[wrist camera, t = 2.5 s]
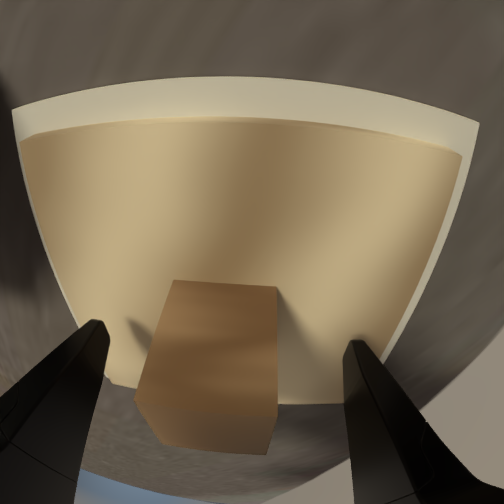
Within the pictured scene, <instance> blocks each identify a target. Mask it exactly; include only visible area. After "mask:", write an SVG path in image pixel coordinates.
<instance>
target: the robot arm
mask: <svg viewBox="0 0 504 504" xmlns="http://www.w3.org/2000/svg"><path fill="white" fill-rule="evenodd" d="M109 347H110V335H109V333H108V330H107V328H106V326H105V324H104V322H103V321H102V320H98V319H91V320H89V321H88V322H86V323H85V324H84V325H83V326H82V327H80V328H79V329H78V330H77V331H76V332H74V333H73V334H72V335H71V336H70V337H68V338H67V339H66V340H65V341H64V342H63V343H61V344H60V345H59V346H58V347H57V348H55V349H54V350H53V351H52V352H51V353H50V354H49V355H47V356H46V357H45V358H44V359H43V360H42V361H40V362H39V363H38V364H37V365H36V366H35V367H34V368H32V369H31V370H30V371H29V372H28V373H27V374H26V375H25V376H23V377H22V378H21V379H20V380H19V382H17V383H16V384H15V385H13V386H12V387H11V388H10V389H9V390H8V391H7V392H5V393H4V394H3V395H2V396H1V397H0V504H74V497H75V492H76V487H77V481H78V476H79V471H80V466H81V461H82V457H83V452H84V448H85V444H86V440H87V436H88V432H89V428H90V424H91V420H92V416H93V413H94V409H95V406H96V402H97V399H98V395H99V392H100V388H101V385H102V381H103V376H104V371H105V366H106V361H107V356H108V351H109ZM342 364H343V397H344V411H345V418H346V426H347V434H348V442H349V451H350V460H351V470H352V480H353V492H354V504H504V489H502V488H499V487H496V486H492V485H489V484H487V483H484V482H482V481H480V480H479V479H477V478H476V477H475V476H474V475H472V473H471V472H470V471H469V470H468V469H467V468H466V467H465V466H464V465H463V464H462V463H461V462H460V461H459V460H458V458H457V457H456V456H455V455H454V454H453V453H452V452H451V451H450V450H449V449H448V447H447V446H446V445H445V444H444V443H443V442H442V441H441V439H440V438H439V437H438V436H437V434H436V433H435V432H434V430H433V429H432V428H431V427H430V425H429V424H428V422H426V420H425V419H424V417H423V416H422V414H421V413H420V412H419V410H418V409H417V408H416V406H415V405H414V404H413V402H412V401H411V400H410V399H409V397H408V396H407V395H406V393H405V392H404V391H403V389H402V388H401V387H400V385H399V384H398V383H397V382H396V380H395V379H394V378H393V376H392V375H391V374H390V373H389V371H388V370H387V369H386V367H385V366H384V365H383V364H382V362H381V361H380V360H379V358H378V357H377V356H376V355H375V353H374V352H373V351H372V350H371V348H370V347H369V346H368V345H367V343H366V342H365V341H364V340H362V339H352V340H350V341H349V343H348V345H347V348H346V350H345V352H344V355H343V360H342Z"/></svg>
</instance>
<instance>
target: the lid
mask: <svg viewBox="0 0 504 504" xmlns="http://www.w3.org/2000/svg"><path fill="white" fill-rule="evenodd" d="M19 143H20V149H21V154H22V159H23V164H24V169H25V173H26V178H27V182H28V186H29V190H30V194H31V198H32V201H33V205H34V209H35V212H36V215H37V219H38V222H39V225H40V228H41V231H42V234H43V237H44V240H45V243H46V246H47V249H48V252H49V255H50V257H51V260H52V263H53V265H54V268H55V270H56V273H57V275H58V278H59V280H60V283H61V285H62V287H63V290H64V292H65V294H66V297H67V299H68V301H69V303H70V306H71V308H72V310H73V312H74V314H75V316H76V318H77V320H78V322H79V324H80V326H81V327H82V326H83V325H84V324H85V323H86V322H88V321H89V320H91V319H98V320H102V321H103V322H104V324H105V326H106V328H107V330H108V333H109V335H110V347H109V351H108V356H107V361H106V366H105V372H106V374H107V376H108V377H109V379H110V380H111V382H112V384H117V385H121V386H126V387H131V388H136V389H137V390H136V393H135V397H134V400H133V401H134V402H135V404H136V405H137V407H138V409H139V410H140V412H141V413H142V415H143V416H144V418H145V420H146V421H147V423H148V424H149V426H150V427H151V429H152V430H153V431H154V433H155V434H156V436H157V437H158V439H159V440H160V441H161V443H162V444H165V445H171V446H177V447H183V448H190V449H197V450H205V451H214V452H224V453H236V454H252V455H266V454H267V450H268V447H269V444H270V441H271V438H272V434H273V431H274V428H275V424H276V421H277V418H278V404H332V403H344V397H343V364H342V360H343V355H344V352H345V350H346V348H347V345H348V343H349V341H350V340H352V339H362V340H364V341H365V342H366V343H367V345H368V346H369V347H370V348H371V350H372V351H373V352H374V353H375V355H376V356H377V357H378V358H379V359H380V357H381V356H382V354H383V352H384V350H385V349H386V347H387V345H388V343H389V341H390V340H391V338H392V336H393V334H394V332H395V330H396V328H397V327H398V325H399V323H400V321H401V319H402V317H403V315H404V313H405V311H406V309H407V307H408V305H409V303H410V301H411V299H412V296H413V294H414V292H415V290H416V288H417V286H418V283H419V281H420V279H421V277H422V274H423V272H424V270H425V267H426V265H427V263H428V260H429V258H430V255H431V253H432V250H433V248H434V245H435V243H436V240H437V237H438V235H439V232H440V229H441V227H442V224H443V221H444V218H445V215H446V212H447V209H448V206H449V203H450V200H451V197H452V193H453V190H454V187H455V183H456V180H457V176H458V173H459V169H460V165H461V161H462V157H463V156H461V155H460V154H458V153H457V152H455V151H453V150H452V149H450V148H449V147H446V146H442V145H438V144H434V143H430V142H426V141H422V140H418V139H413V138H409V137H404V136H399V135H395V134H390V133H384V132H379V131H373V130H368V129H362V128H355V127H349V126H342V125H335V124H327V123H318V122H309V121H299V120H288V119H274V118H257V117H226V116H195V117H165V118H148V119H135V120H124V121H114V122H105V123H97V124H89V125H82V126H76V127H69V128H64V129H58V130H52V131H47V132H42V133H37V134H34V135H32V136H30V137H28V138H26V139H24V140H22V141H20V142H19Z"/></svg>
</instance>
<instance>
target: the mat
mask: <svg viewBox="0 0 504 504" xmlns="http://www.w3.org/2000/svg"><path fill="white" fill-rule="evenodd" d="M195 116H226V117H257V118H274V119H288V120H299V121H309V122H318V123H327V124H335V125H342V126H349V127H355V128H362V129H368V130H373V131H379V132H384V133H390V134H395V135H399V136H404V137H409V138H413V139H418V140H422V141H426V142H430V143H434V144H438V145H442V146H446V147H449V148H450V149H452V150H453V151H455V152H457V153H458V154H460V155H461V156H463V157H462V161H461V165H460V169H459V173H458V176H457V180H456V183H455V187H454V190H453V193H452V197H451V200H450V203H449V206H448V209H447V212H446V215H445V218H444V221H443V224H442V227H441V229H440V232H439V235H438V237H437V240H436V243H435V245H434V248H433V250H432V253H431V255H430V258H429V260H428V263H427V265H426V267H425V270H424V272H423V274H422V277H421V279H420V281H419V283H418V286H417V288H416V290H415V292H414V294H413V296H412V299H411V301H410V303H409V305H408V307H407V309H406V311H405V313H404V315H403V317H402V319H401V321H400V323H399V325H398V327H397V328H396V330H395V332H394V334H393V336H392V338H391V340H390V341H389V343H388V345H387V347H386V349H385V350H384V352H383V354H382V356H381V357H380V359H379V360H380V361H381V362H382V364H384V362H385V361H386V359H387V357H388V356H389V354H390V352H391V351H392V349H393V347H394V345H395V344H396V342H397V340H398V338H399V337H400V335H401V333H402V331H403V330H404V328H405V326H406V324H407V322H408V320H409V318H410V317H411V315H412V313H413V311H414V309H415V307H416V305H417V303H418V301H419V299H420V297H421V295H422V293H423V291H424V288H425V286H426V284H427V282H428V280H429V278H430V275H431V273H432V271H433V269H434V266H435V264H436V262H437V259H438V257H439V255H440V252H441V250H442V247H443V245H444V242H445V240H446V237H447V235H448V232H449V229H450V227H451V224H452V221H453V218H454V215H455V212H456V209H457V207H458V204H459V200H460V197H461V194H462V191H463V188H464V184H465V181H466V177H467V174H468V170H469V167H470V163H471V159H472V155H473V151H474V147H475V142H476V138H477V133H478V128H479V123H478V122H476V121H474V120H471V119H469V118H466V117H463V116H460V115H458V114H455V113H452V112H449V111H446V110H443V109H439V108H436V107H433V106H430V105H426V104H423V103H419V102H415V101H412V100H408V99H404V98H400V97H396V96H392V95H387V94H383V93H378V92H373V91H369V90H363V89H358V88H352V87H347V86H340V85H334V84H327V83H319V82H311V81H302V80H292V79H280V78H264V77H233V76H216V77H185V78H169V79H157V80H147V81H138V82H130V83H123V84H116V85H110V86H104V87H98V88H93V89H88V90H83V91H78V92H73V93H69V94H64V95H60V96H56V97H52V98H48V99H45V100H41V101H37V102H34V103H30V104H27V105H24V106H21V107H18V108H15V109H12V117H13V124H14V131H15V137H16V143H17V149H18V154H19V159H20V164H21V169H22V173H23V178H24V182H25V186H26V190H27V194H28V197H29V201H30V205H31V208H32V212H33V215H34V218H35V221H36V225H37V228H38V231H39V234H40V237H41V240H42V243H43V246H44V248H45V251H46V254H47V257H48V259H49V262H50V264H51V267H52V270H53V272H54V274H55V277H56V279H57V282H58V284H59V286H60V289H61V291H62V293H63V296H64V298H65V300H66V302H67V304H68V307H69V309H70V311H71V313H72V315H73V317H74V319H75V321H76V323H77V325H78V327H79V328H80V327H81V326H80V324H79V322H78V320H77V318H76V316H75V314H74V312H73V310H72V308H71V306H70V303H69V301H68V299H67V297H66V294H65V292H64V290H63V287H62V285H61V283H60V280H59V278H58V275H57V273H56V270H55V268H54V265H53V263H52V260H51V257H50V255H49V252H48V249H47V246H46V243H45V240H44V237H43V234H42V231H41V228H40V225H39V222H38V219H37V215H36V212H35V209H34V205H33V201H32V198H31V194H30V190H29V186H28V182H27V178H26V173H25V169H24V164H23V159H22V154H21V149H20V143H19V142H20V141H22V140H24V139H26V138H28V137H30V136H32V135H34V134H37V133H42V132H47V131H52V130H58V129H64V128H69V127H76V126H82V125H89V124H97V123H105V122H114V121H124V120H135V119H148V118H165V117H195ZM104 374H105V376H106V377H107V378H109V377H108V376H107V374H106V372H105V371H104Z"/></svg>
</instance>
